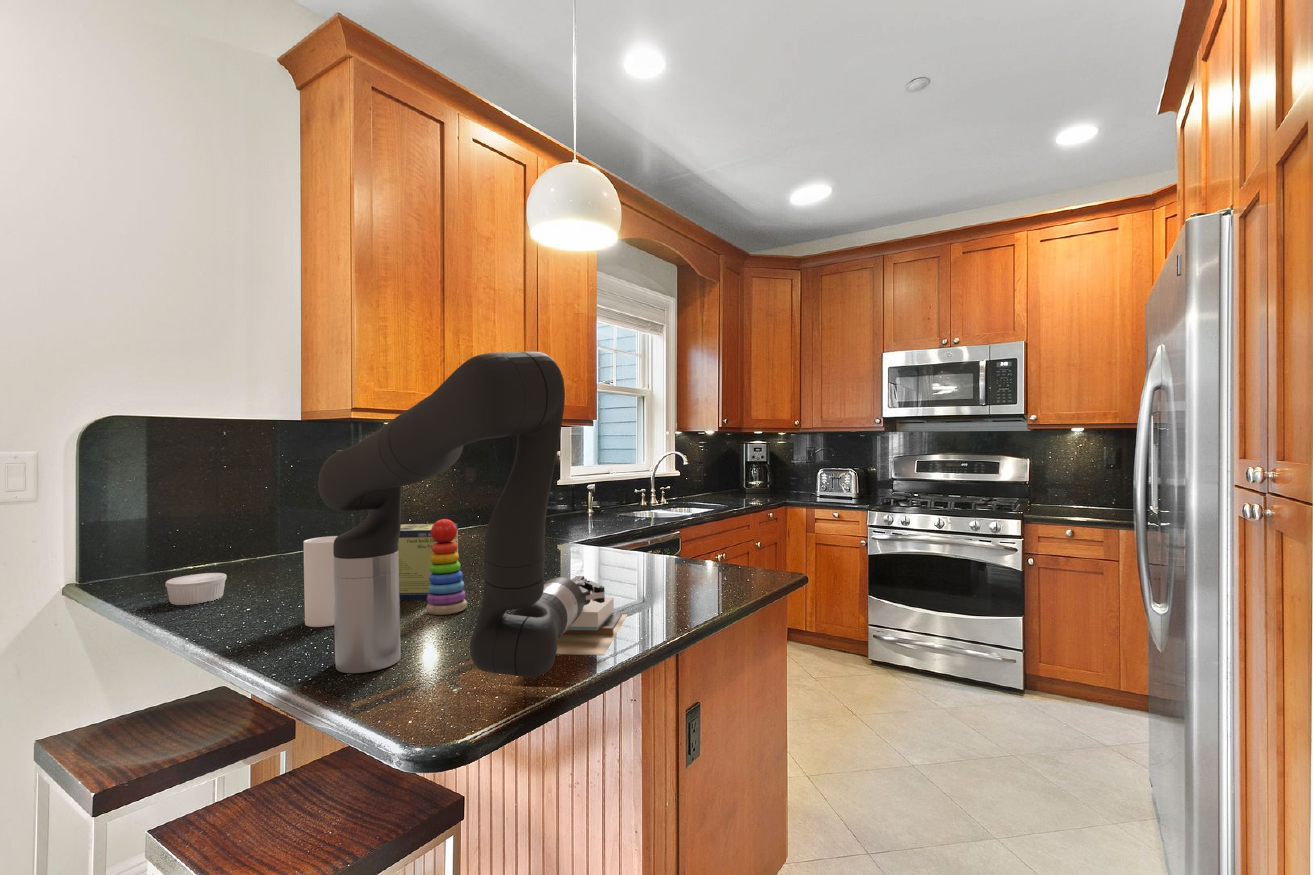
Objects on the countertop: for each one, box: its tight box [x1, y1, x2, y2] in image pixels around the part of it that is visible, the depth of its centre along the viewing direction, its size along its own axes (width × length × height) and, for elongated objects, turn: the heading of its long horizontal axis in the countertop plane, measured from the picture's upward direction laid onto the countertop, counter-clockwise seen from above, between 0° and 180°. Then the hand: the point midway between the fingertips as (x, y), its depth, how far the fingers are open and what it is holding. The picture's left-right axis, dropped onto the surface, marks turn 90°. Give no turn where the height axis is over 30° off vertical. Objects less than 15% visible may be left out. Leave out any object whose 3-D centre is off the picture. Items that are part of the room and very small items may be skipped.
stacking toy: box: [425, 518, 468, 616], centre depth 125 cm, size 8×8×19 cm
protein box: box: [398, 522, 459, 601], centre depth 140 cm, size 10×16×16 cm
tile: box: [568, 597, 615, 630], centre depth 109 cm, size 3×9×14 cm
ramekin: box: [165, 572, 228, 605], centre depth 139 cm, size 11×11×5 cm
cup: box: [303, 535, 339, 628], centre depth 120 cm, size 8×8×16 cm
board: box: [556, 612, 628, 656], centre depth 106 cm, size 22×14×2 cm, turn 173°
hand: (580, 581), depth 109 cm, fingers closed
